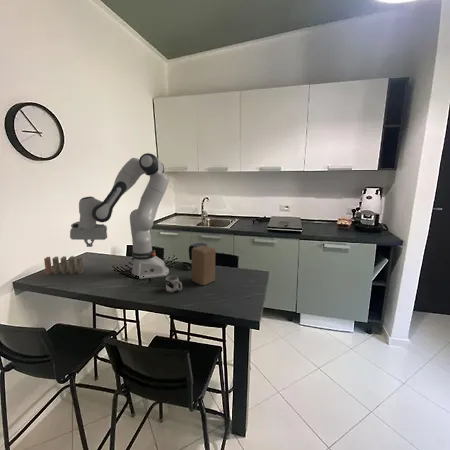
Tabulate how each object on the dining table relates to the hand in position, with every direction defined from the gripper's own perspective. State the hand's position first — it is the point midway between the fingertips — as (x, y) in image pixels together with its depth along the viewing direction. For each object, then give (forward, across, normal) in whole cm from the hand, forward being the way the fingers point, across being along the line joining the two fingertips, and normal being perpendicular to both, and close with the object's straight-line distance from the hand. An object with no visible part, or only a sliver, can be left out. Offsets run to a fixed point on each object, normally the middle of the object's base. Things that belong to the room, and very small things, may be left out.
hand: (89, 246), depth 168 cm
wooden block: (+15, -68, +20) cm, 72 cm away
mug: (+16, -52, +30) cm, 62 cm away
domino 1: (+17, +24, 0) cm, 30 cm away
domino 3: (+17, +15, 0) cm, 23 cm away
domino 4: (+17, +11, 0) cm, 20 cm away
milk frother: (+15, -63, -4) cm, 65 cm away
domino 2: (+17, +20, 0) cm, 26 cm away
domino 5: (+17, +6, 0) cm, 18 cm away
